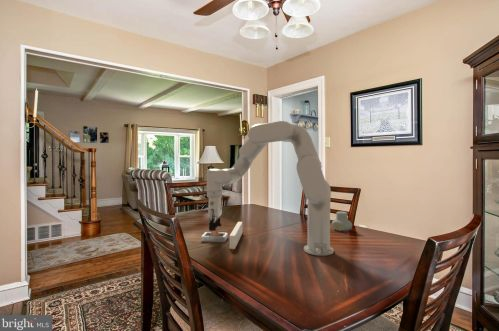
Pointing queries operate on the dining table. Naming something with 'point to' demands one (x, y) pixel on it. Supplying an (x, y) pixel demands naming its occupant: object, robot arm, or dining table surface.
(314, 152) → the robot arm
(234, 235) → the white long flat block
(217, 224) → the grandmother figurine
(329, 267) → the dining table surface
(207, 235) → the grey hollow rectangular frame
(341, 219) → the air freshener
